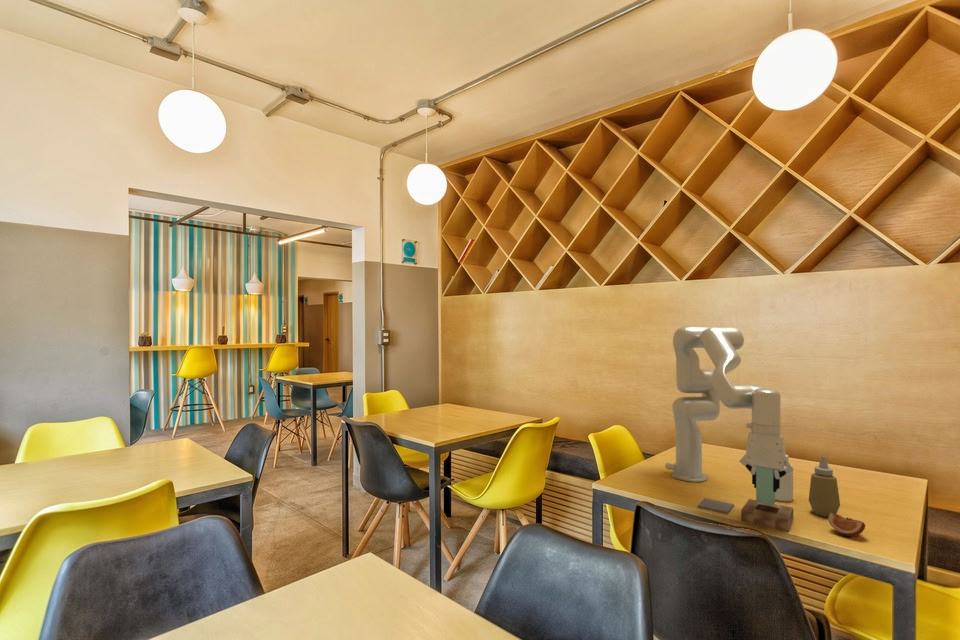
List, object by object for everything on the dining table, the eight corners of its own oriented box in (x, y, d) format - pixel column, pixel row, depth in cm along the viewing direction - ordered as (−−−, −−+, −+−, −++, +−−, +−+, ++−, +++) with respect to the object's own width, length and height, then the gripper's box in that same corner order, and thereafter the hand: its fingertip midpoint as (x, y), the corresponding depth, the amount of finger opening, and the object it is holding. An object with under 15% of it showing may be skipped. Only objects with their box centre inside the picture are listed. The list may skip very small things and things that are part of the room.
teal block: (756, 502, 145) (756, 463, 145) (758, 498, 148) (758, 459, 148) (772, 505, 142) (773, 465, 142) (775, 501, 145) (775, 462, 145)
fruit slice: (824, 531, 137) (823, 513, 137) (836, 526, 140) (835, 509, 140) (858, 542, 129) (857, 524, 129) (870, 537, 132) (869, 519, 133)
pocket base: (741, 521, 144) (741, 509, 144) (749, 509, 153) (749, 498, 153) (788, 532, 136) (788, 519, 136) (793, 519, 145) (793, 507, 145)
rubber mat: (697, 507, 155) (697, 505, 155) (704, 499, 162) (704, 498, 162) (727, 514, 149) (727, 512, 149) (734, 506, 156) (734, 504, 156)
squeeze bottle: (841, 521, 144) (840, 461, 144) (809, 515, 148) (808, 457, 148) (838, 512, 150) (837, 455, 151) (808, 507, 155) (807, 452, 155)
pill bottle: (784, 503, 158) (784, 458, 158) (761, 496, 165) (760, 453, 166) (798, 499, 162) (797, 455, 162) (774, 492, 169) (774, 450, 169)
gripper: (732, 427, 148) (732, 486, 148) (797, 436, 137) (797, 499, 137) (737, 423, 153) (737, 479, 153) (800, 431, 143) (800, 491, 143)
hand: (765, 488), depth 145 cm, fingers closed on teal block, 4 cm apart
